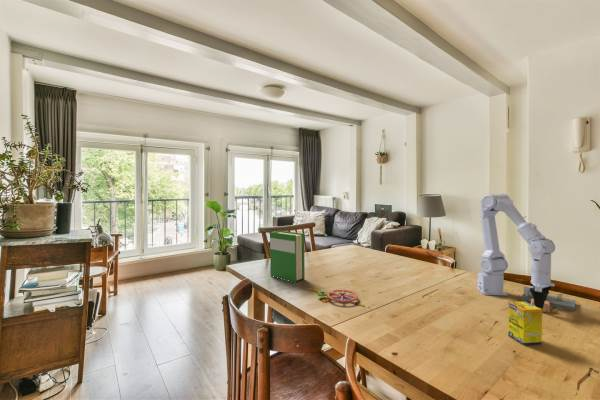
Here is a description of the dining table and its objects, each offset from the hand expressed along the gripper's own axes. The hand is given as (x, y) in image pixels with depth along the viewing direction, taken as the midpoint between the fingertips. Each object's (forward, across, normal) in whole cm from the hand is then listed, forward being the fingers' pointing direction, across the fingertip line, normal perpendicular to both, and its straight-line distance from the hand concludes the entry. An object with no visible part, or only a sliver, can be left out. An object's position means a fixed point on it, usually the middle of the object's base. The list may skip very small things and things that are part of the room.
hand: (540, 305), depth 113 cm
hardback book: (+2, -41, +100) cm, 108 cm away
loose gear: (+1, 0, 0) cm, 1 cm away
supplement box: (+2, -33, +1) cm, 33 cm away
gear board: (+1, +11, -2) cm, 11 cm away
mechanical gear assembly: (+2, -45, +65) cm, 79 cm away
